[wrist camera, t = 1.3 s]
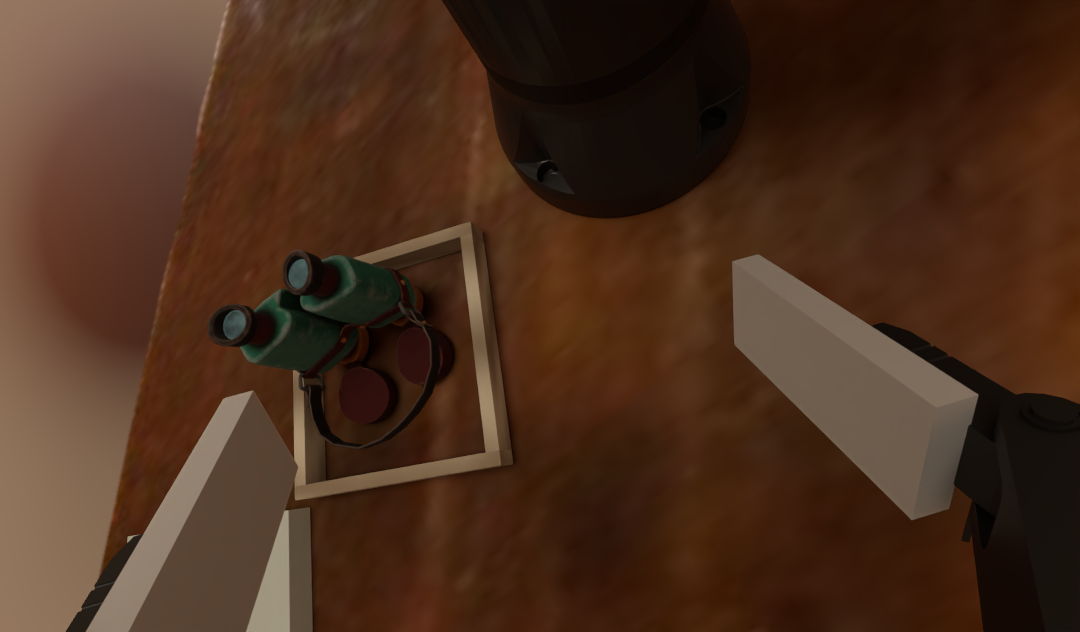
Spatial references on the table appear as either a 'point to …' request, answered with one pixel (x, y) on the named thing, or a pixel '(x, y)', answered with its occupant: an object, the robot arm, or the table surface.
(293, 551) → the tray
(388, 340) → the table surface
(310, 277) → the binoculars
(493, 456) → the holder
